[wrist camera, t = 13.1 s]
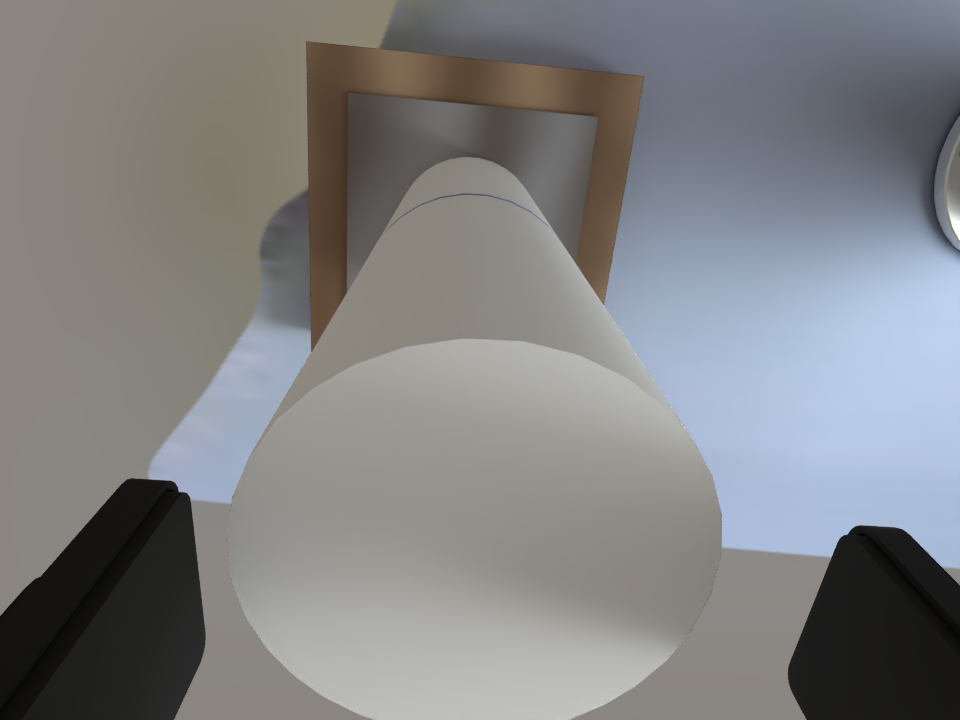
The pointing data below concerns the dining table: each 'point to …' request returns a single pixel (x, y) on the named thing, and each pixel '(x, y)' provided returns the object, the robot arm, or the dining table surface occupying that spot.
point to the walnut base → (458, 149)
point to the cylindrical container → (473, 481)
